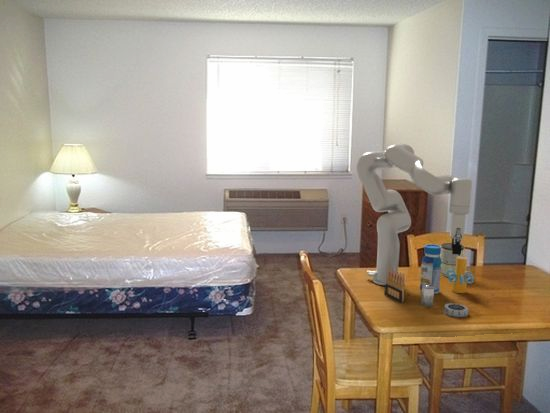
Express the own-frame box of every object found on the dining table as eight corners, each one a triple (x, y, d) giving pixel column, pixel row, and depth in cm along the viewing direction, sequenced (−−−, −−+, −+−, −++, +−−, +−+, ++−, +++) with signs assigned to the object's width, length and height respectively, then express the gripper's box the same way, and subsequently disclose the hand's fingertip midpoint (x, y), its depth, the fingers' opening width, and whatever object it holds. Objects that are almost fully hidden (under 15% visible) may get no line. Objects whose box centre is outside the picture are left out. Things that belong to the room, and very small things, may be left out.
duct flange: (443, 315, 193) (443, 309, 193) (443, 307, 202) (444, 301, 201) (468, 319, 190) (469, 313, 190) (468, 310, 199) (468, 304, 198)
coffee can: (438, 270, 250) (440, 242, 248) (460, 271, 248) (462, 243, 246) (440, 276, 241) (442, 247, 238) (463, 278, 238) (465, 249, 236)
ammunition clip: (404, 302, 206) (406, 274, 204) (401, 303, 205) (403, 274, 203) (388, 294, 216) (389, 266, 213) (384, 294, 215) (386, 267, 213)
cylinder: (474, 297, 214) (477, 262, 211) (448, 294, 216) (451, 260, 213) (469, 287, 226) (472, 254, 223) (444, 285, 228) (447, 253, 225)
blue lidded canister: (441, 295, 215) (444, 249, 212) (420, 293, 217) (423, 248, 213) (438, 288, 224) (441, 244, 220) (418, 287, 225) (421, 243, 221)
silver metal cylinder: (420, 305, 203) (421, 286, 202) (421, 301, 207) (422, 282, 206) (432, 307, 201) (434, 288, 200) (433, 303, 206) (434, 284, 204)
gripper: (449, 204, 211) (445, 245, 214) (450, 212, 194) (446, 255, 198) (468, 206, 209) (464, 246, 212) (471, 213, 192) (467, 257, 195)
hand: (455, 251), depth 205 cm, fingers open, 9 cm apart
